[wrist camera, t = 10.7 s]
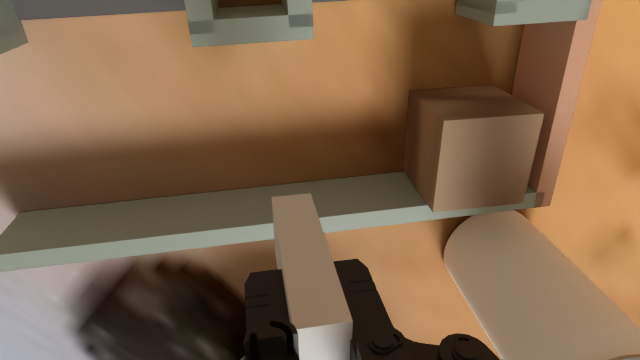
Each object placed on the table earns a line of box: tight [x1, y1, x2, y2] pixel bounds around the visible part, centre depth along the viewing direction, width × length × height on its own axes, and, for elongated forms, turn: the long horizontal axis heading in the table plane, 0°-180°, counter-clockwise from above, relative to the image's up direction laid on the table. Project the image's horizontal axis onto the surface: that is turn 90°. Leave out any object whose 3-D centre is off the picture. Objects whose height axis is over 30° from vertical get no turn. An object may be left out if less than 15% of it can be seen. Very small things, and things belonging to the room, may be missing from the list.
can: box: [444, 210, 640, 360], centre depth 25 cm, size 6×6×12 cm
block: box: [403, 85, 544, 212], centre depth 24 cm, size 5×5×5 cm
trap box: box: [0, 0, 602, 272], centre depth 20 cm, size 30×18×4 cm, turn 92°
